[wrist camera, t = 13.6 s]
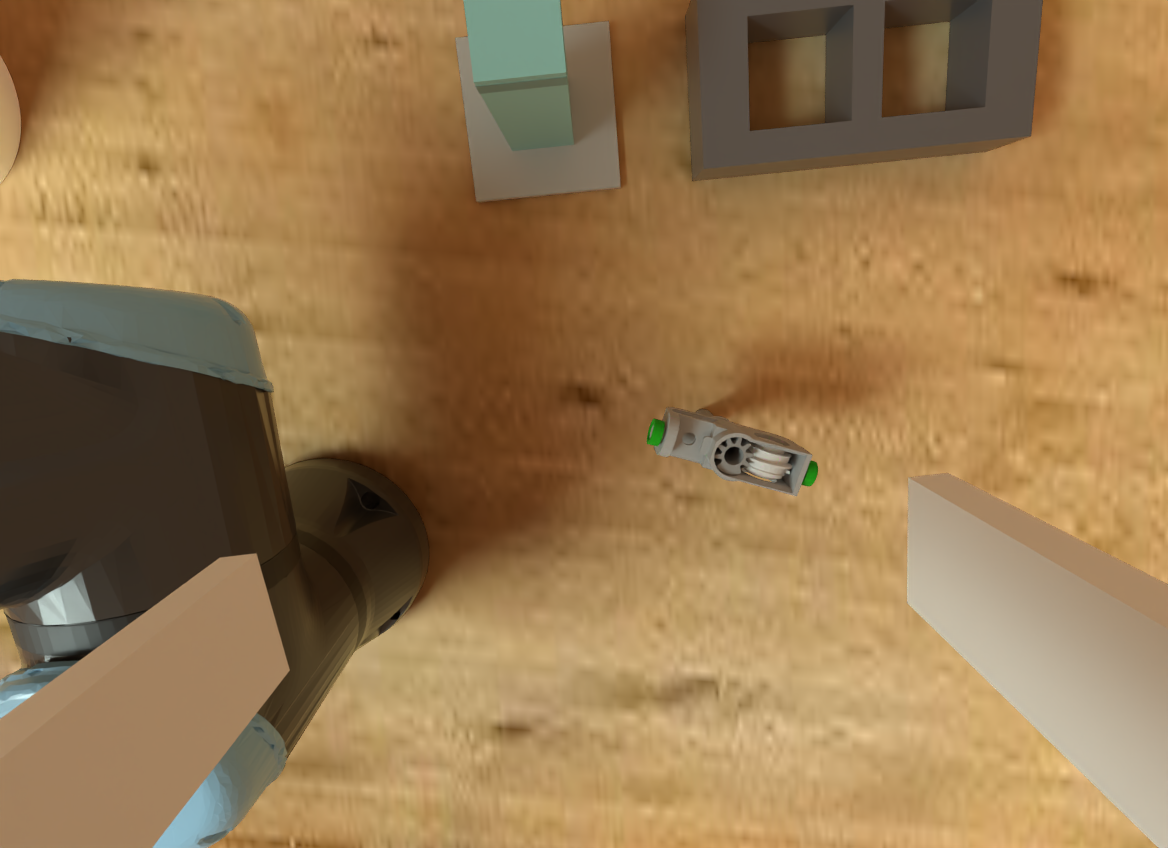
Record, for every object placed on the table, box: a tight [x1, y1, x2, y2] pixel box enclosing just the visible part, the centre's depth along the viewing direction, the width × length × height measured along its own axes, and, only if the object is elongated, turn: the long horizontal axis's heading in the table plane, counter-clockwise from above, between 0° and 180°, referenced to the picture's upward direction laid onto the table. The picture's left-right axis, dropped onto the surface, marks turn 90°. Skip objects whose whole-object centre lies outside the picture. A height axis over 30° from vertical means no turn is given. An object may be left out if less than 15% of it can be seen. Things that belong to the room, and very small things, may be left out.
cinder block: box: [685, 0, 1043, 181], centre depth 35 cm, size 20×10×4 cm, turn 95°
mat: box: [455, 21, 621, 202], centre depth 38 cm, size 10×10×1 cm
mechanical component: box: [647, 407, 818, 496], centre depth 38 cm, size 3×10×10 cm, turn 75°
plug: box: [463, 0, 574, 151], centre depth 31 cm, size 4×4×13 cm
